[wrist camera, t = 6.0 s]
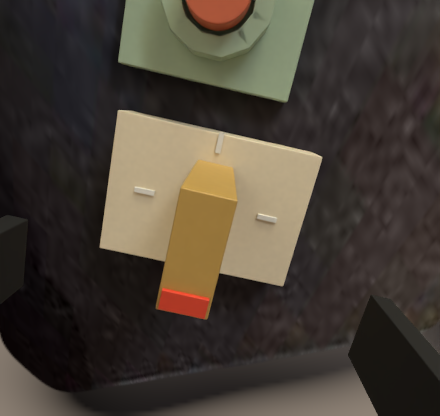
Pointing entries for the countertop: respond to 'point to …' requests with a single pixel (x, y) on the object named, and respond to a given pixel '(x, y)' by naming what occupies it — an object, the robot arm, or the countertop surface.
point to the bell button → (218, 13)
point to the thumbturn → (198, 240)
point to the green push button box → (218, 45)
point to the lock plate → (176, 175)
